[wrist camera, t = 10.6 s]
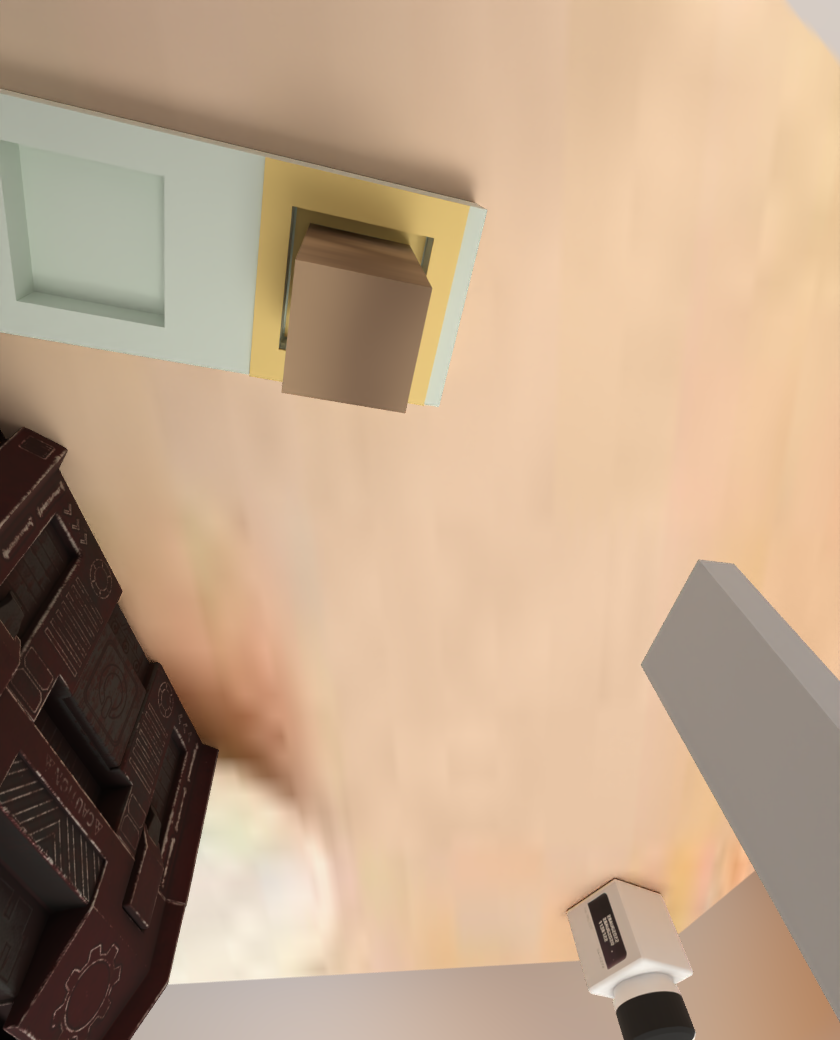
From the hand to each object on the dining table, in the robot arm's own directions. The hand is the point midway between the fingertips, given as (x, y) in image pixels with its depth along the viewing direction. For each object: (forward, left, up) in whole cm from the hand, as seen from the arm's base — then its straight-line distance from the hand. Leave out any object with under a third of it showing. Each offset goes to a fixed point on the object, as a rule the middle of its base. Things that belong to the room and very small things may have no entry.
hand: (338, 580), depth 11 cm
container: (+38, -58, -23) cm, 73 cm away
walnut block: (0, +1, -22) cm, 22 cm away
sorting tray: (-11, +1, -23) cm, 25 cm away
